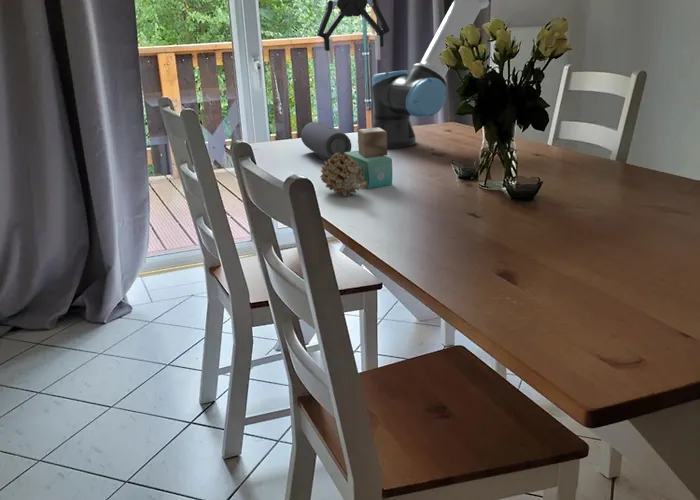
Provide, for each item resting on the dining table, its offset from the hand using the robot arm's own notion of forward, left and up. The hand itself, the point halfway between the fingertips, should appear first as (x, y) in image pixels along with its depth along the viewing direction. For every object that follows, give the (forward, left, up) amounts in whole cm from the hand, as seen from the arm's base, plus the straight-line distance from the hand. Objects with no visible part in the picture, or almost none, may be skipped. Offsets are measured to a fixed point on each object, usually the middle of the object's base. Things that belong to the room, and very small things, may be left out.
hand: (354, 61), depth 197 cm
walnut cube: (+2, +24, -22) cm, 33 cm away
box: (+4, +25, -29) cm, 38 cm away
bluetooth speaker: (+8, -10, -29) cm, 32 cm away
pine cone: (+12, +37, -29) cm, 48 cm away
